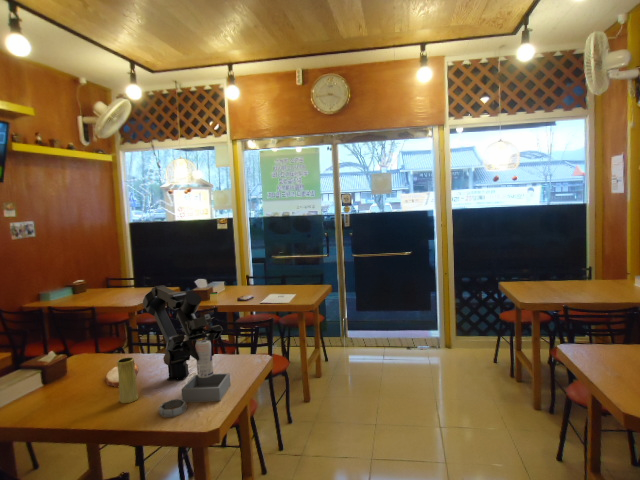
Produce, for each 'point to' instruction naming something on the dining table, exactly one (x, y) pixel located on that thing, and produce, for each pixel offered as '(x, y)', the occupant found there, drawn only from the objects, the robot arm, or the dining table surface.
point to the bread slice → (116, 376)
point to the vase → (127, 380)
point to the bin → (206, 388)
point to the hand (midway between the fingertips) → (206, 357)
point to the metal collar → (172, 412)
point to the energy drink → (204, 358)
